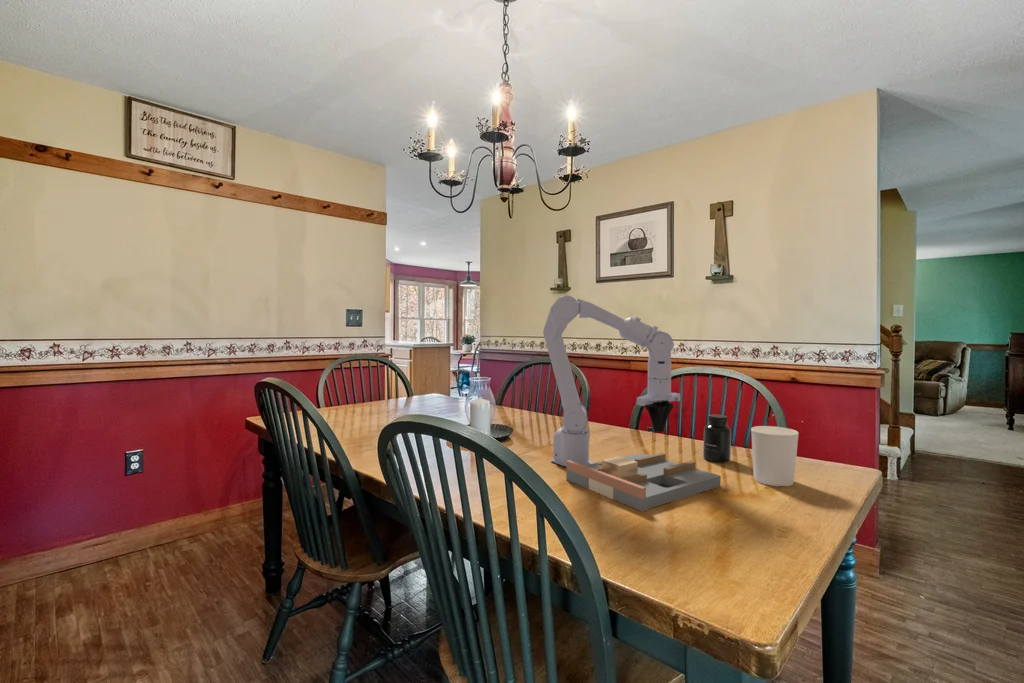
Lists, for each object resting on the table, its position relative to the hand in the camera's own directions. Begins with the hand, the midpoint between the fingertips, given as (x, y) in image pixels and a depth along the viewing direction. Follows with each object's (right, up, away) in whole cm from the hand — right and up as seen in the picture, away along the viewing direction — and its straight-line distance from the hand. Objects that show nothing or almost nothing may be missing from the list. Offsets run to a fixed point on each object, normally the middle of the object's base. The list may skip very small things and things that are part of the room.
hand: (658, 431), depth 124 cm
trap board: (-8, -10, -12) cm, 17 cm away
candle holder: (+24, -10, -10) cm, 28 cm away
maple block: (-14, -8, -16) cm, 23 cm away
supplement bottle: (+18, -9, +7) cm, 22 cm away
